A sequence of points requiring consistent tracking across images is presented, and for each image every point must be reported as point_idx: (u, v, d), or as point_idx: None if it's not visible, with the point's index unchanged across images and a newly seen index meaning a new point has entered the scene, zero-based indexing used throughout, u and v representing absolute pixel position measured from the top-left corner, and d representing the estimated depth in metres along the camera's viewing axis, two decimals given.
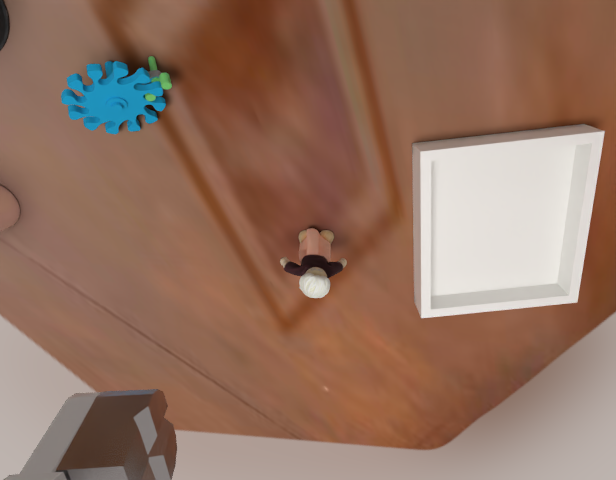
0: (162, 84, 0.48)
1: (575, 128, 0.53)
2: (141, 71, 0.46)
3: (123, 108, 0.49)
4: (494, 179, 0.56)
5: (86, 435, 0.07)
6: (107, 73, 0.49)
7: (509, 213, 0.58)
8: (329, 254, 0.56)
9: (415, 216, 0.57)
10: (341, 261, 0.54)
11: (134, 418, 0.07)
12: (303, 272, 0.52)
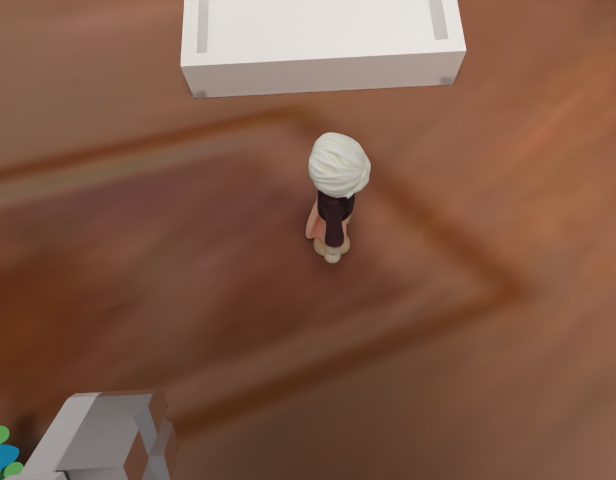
0: None
1: None
2: None
3: None
4: None
5: (86, 435, 0.07)
6: None
7: None
8: None
9: (296, 82, 0.38)
10: None
11: (134, 418, 0.07)
12: (331, 202, 0.27)
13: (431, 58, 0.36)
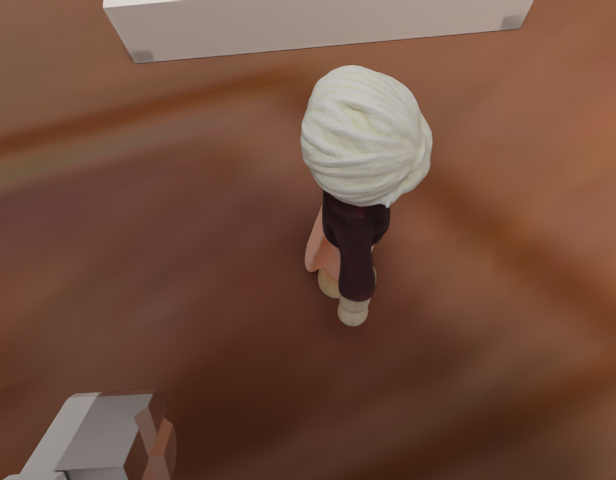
0: None
1: None
2: None
3: None
4: None
5: (86, 435, 0.07)
6: None
7: None
8: None
9: (284, 32, 0.25)
10: None
11: (134, 418, 0.07)
12: (349, 214, 0.13)
13: None
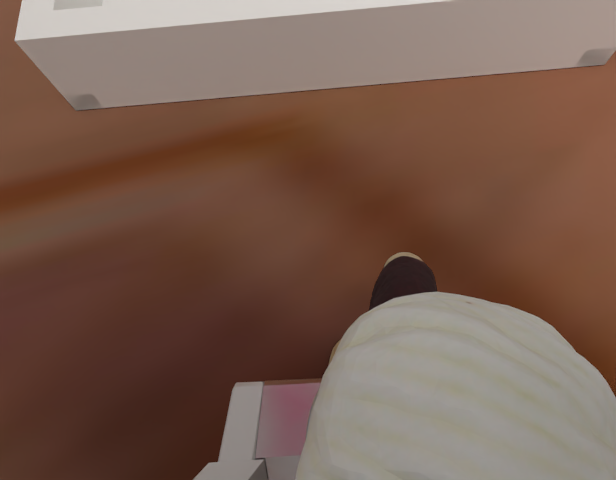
0: None
1: None
2: None
3: None
4: None
5: (270, 423, 0.07)
6: None
7: None
8: None
9: (279, 71, 0.18)
10: None
11: None
12: None
13: (582, 3, 0.16)
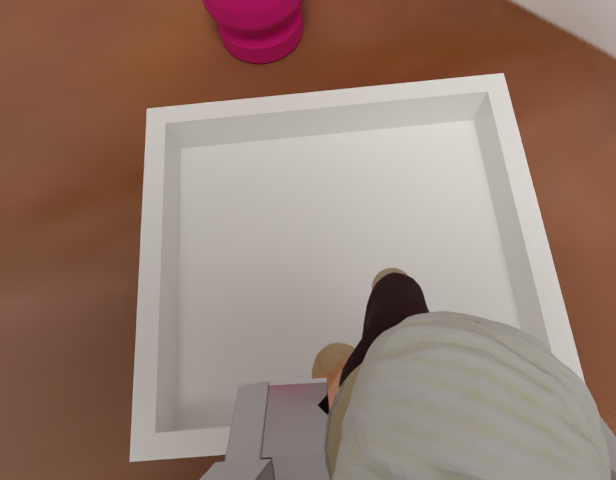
0: None
1: None
2: None
3: None
4: (244, 275, 0.28)
5: (277, 423, 0.07)
6: None
7: (317, 235, 0.29)
8: None
9: None
10: None
11: (317, 406, 0.07)
12: None
13: None
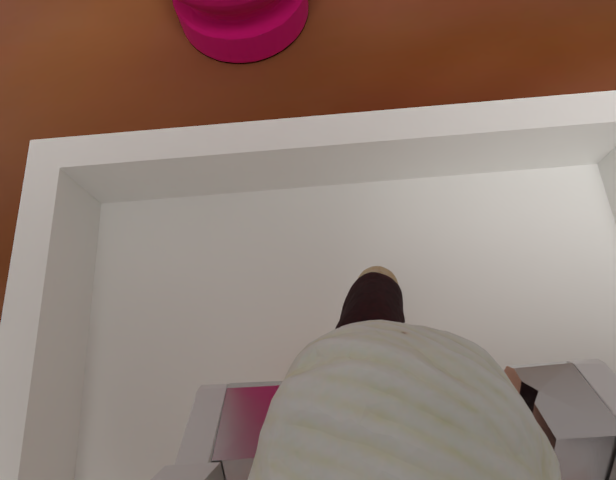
0: None
1: None
2: None
3: None
4: None
5: (230, 426, 0.07)
6: None
7: None
8: None
9: None
10: None
11: None
12: None
13: None
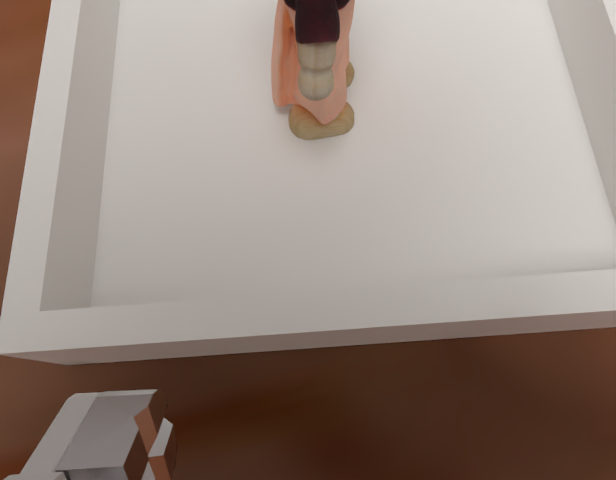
0: None
1: None
2: None
3: None
4: (201, 122, 0.20)
5: (86, 435, 0.07)
6: None
7: None
8: None
9: (296, 344, 0.16)
10: None
11: (134, 418, 0.07)
12: None
13: None
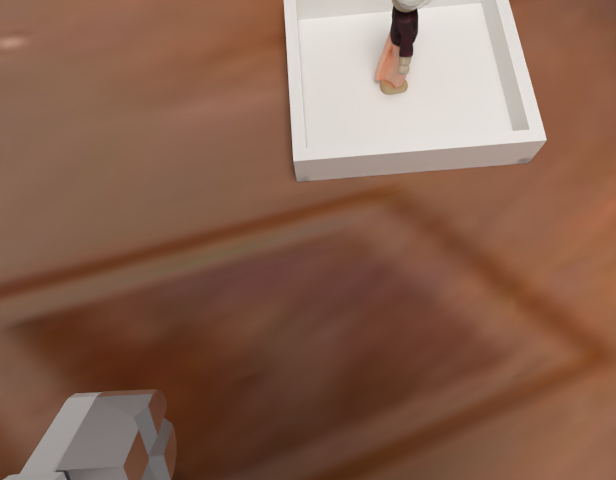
0: None
1: None
2: None
3: None
4: (342, 87, 0.47)
5: (86, 435, 0.07)
6: None
7: None
8: None
9: (390, 167, 0.43)
10: None
11: (134, 418, 0.07)
12: (404, 21, 0.38)
13: (514, 146, 0.41)
